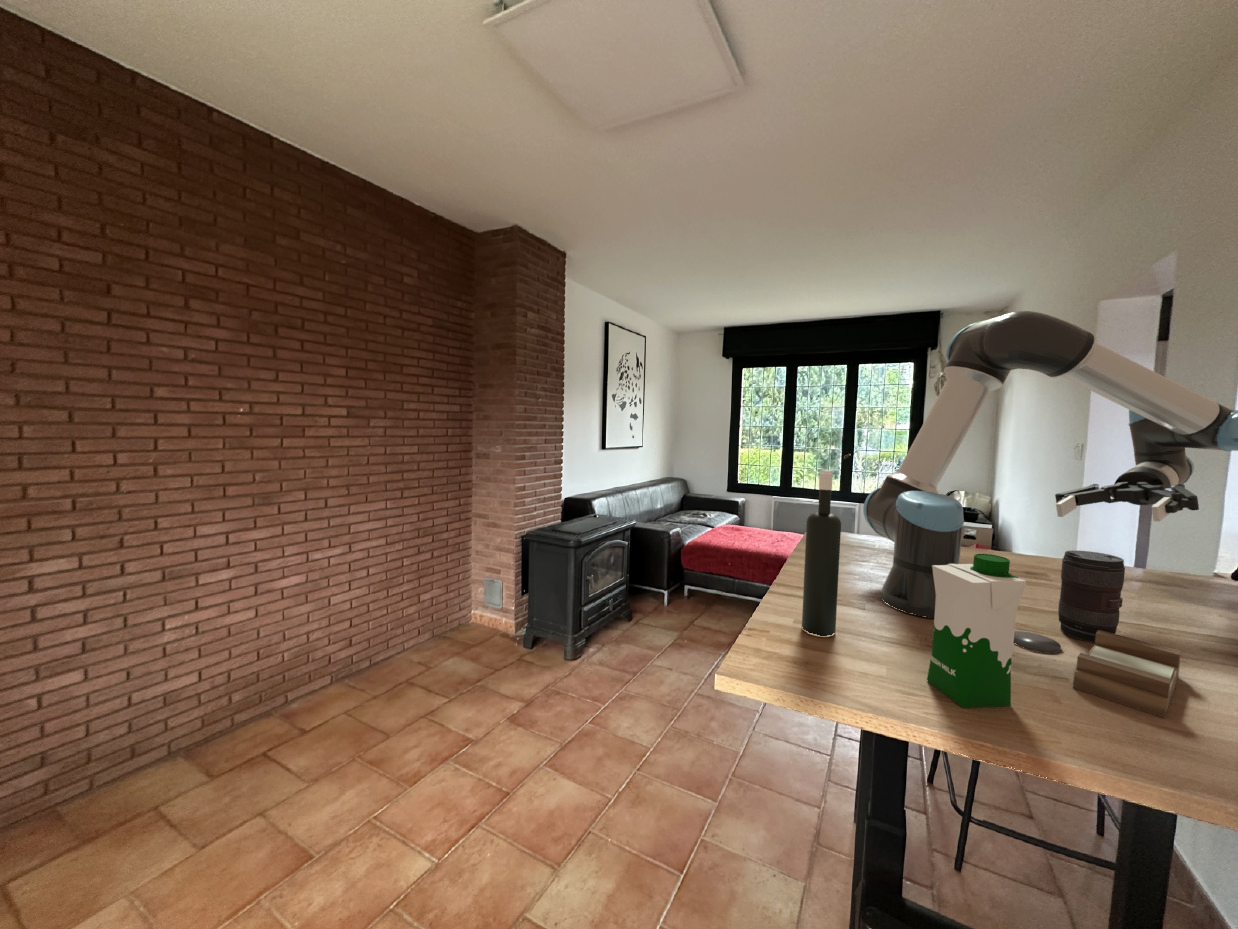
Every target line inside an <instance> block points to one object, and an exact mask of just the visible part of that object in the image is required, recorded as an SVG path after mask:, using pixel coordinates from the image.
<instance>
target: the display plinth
mask: <svg viewBox="0 0 1238 929" xmlns="http://www.w3.org/2000/svg"><path fill="white" fill-rule="evenodd" d="M1181 654H1182V651H1181V650H1179V649H1176V648H1171V647H1168V646H1163V645H1159V644H1155V643H1153V642H1147V641H1144V640H1139V639H1136V638H1133V637H1128V636H1125V635H1121V634H1117V633H1115V634H1113V633H1109V632H1105V631H1102V630H1098V631H1097V632H1096V637H1095V643H1094V645H1093V646H1092V647H1091V649H1090V650H1089V652H1088V653H1084V652H1079V654H1078V655H1077V660H1076V668H1075V670H1074V673H1073V675H1074V676H1073V682H1072V688H1073V689H1077V690H1080V691H1083V692H1084V693H1085V692H1086V693H1088V694H1091V695H1094V696H1097V697H1100V698H1103V699H1105V700H1108V701H1109V700H1110V701H1112V702H1115V703H1118V704H1121V705H1124V706H1128V707H1130V708H1131V709H1135V710H1139V711H1142V712H1145V713H1148V714H1150V715H1154V716H1155V717H1156V716H1157V717H1160V718H1163V719H1165V717H1166V714H1167V711H1168V709H1169V705H1170V703H1171V700H1172V697H1173V694H1174V691H1175V689H1176V688H1175V687H1176V685H1177V681H1178V678H1179V672H1180V667H1181V666H1180V664H1181Z"/></svg>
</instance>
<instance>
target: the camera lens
mask: <svg viewBox="0 0 1238 929" xmlns="http://www.w3.org/2000/svg"><path fill="white" fill-rule="evenodd" d="M1124 560H1125V559H1123V557H1119V556H1116V555H1112V554H1110V553H1109V554H1108V553H1102V552H1097V551H1091V550H1090V551H1087V550H1066V551H1065V552H1064V556H1063V558H1062V563H1061V569H1060V571H1061V572H1060V580H1061V583H1060V592H1059V593H1060V594H1059V601H1058V606H1057V608H1058V611H1057V612H1058V621H1059V622H1060V631H1061V632H1063V633H1064V634H1065V635H1067V636H1069V637H1072V638H1075V639H1077V640H1080V641H1084V642H1087V643H1088V642H1090V643H1093V644H1095V637H1096V632H1097V631H1098V630H1102V631H1105V632H1109V633H1113V634H1117V629H1118V625H1119V622H1120V608H1122V607H1123V600H1124V599H1123V598H1122V597H1121V595H1122V590H1123V587H1124V582H1125V575H1126V574H1125V572H1126V567H1125V563H1124V562H1125V561H1124Z"/></svg>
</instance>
